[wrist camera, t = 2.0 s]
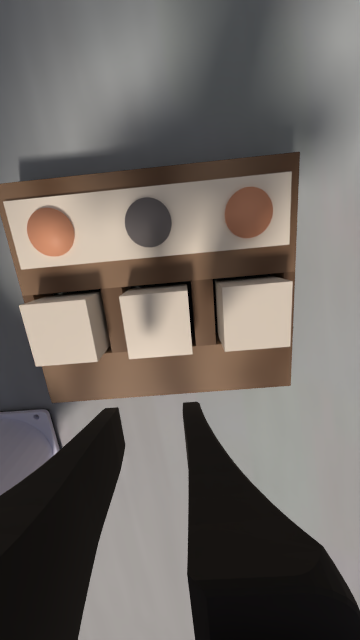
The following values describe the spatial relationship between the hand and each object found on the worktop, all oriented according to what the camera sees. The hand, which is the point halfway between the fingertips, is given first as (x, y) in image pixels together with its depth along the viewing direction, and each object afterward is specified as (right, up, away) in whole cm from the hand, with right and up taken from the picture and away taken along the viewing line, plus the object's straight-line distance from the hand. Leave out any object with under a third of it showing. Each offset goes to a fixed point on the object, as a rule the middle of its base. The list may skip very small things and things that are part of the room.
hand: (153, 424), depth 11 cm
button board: (0, +7, +8) cm, 10 cm away
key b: (0, +5, +7) cm, 8 cm away
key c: (+6, +6, +7) cm, 10 cm away
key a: (-6, +5, +7) cm, 10 cm away
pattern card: (-1, +10, +4) cm, 11 cm away
